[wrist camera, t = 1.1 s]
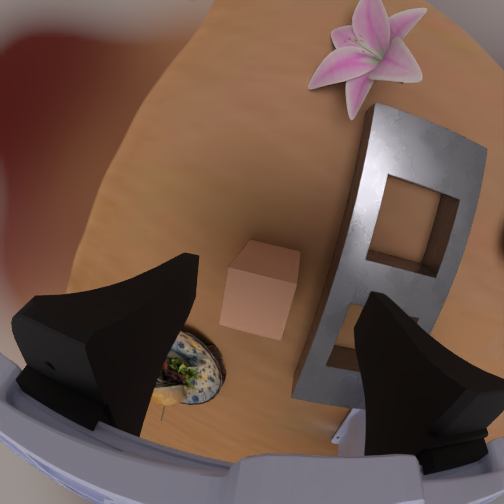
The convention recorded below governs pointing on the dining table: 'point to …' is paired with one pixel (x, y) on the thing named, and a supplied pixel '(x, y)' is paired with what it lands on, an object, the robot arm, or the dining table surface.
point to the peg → (260, 289)
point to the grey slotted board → (382, 265)
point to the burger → (189, 373)
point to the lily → (369, 52)
